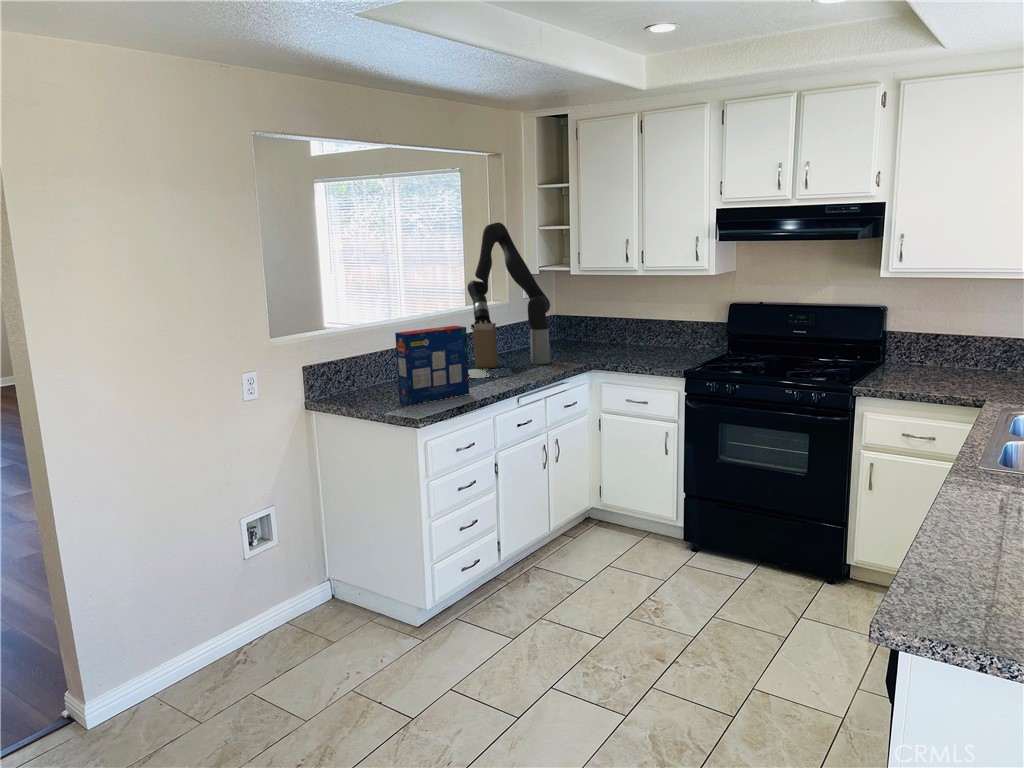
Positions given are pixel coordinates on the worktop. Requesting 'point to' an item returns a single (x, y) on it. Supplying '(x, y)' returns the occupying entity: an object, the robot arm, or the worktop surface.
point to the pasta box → (432, 364)
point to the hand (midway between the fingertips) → (485, 340)
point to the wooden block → (485, 345)
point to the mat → (478, 373)
